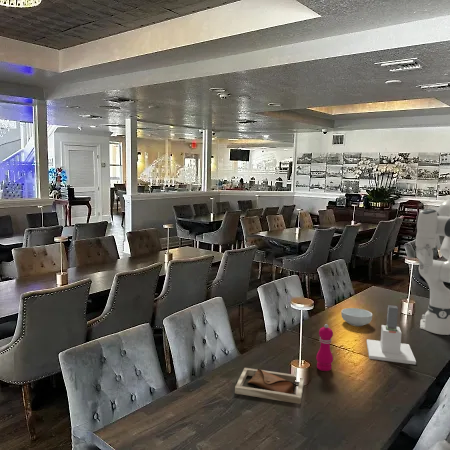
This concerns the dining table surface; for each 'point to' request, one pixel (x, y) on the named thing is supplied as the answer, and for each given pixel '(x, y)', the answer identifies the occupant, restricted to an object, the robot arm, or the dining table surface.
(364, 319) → the cereal bowl
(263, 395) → the birch tray rim
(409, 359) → the stand housing
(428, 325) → the robot arm
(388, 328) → the jack column
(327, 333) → the pepper mill
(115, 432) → the dining table surface
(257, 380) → the sunglasses case
